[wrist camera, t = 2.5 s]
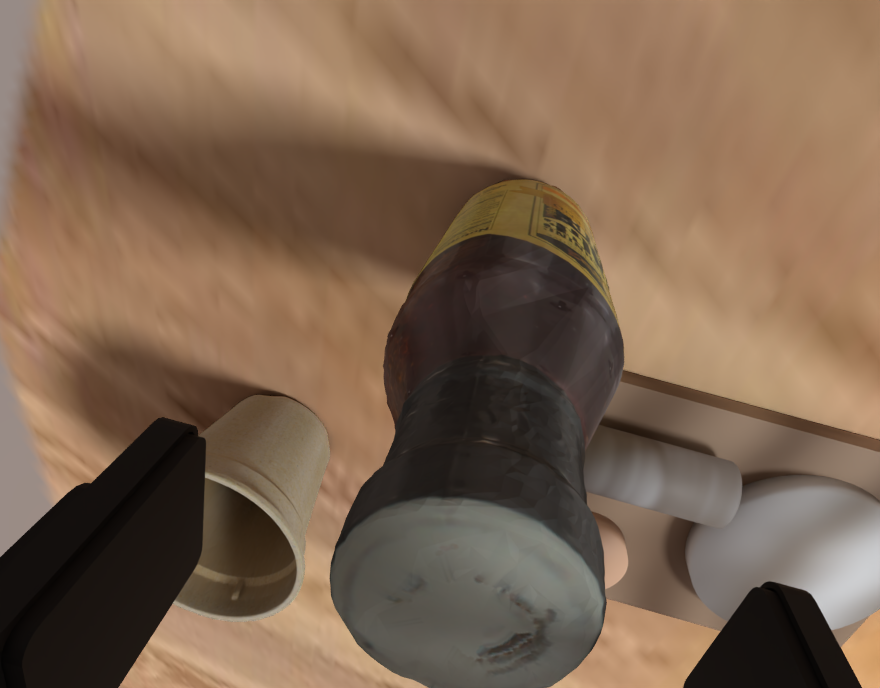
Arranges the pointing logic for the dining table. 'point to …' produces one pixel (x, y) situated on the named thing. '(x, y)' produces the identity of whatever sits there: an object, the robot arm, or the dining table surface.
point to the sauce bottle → (489, 455)
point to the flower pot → (256, 509)
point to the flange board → (722, 441)
